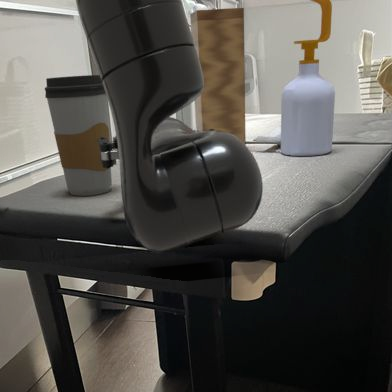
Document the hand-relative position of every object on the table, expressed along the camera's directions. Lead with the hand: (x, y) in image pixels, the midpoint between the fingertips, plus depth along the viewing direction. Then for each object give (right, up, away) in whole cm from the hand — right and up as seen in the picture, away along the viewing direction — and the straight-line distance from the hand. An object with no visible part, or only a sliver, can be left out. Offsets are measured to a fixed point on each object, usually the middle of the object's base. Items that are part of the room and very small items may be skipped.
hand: (155, 139), depth 70 cm
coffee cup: (-10, -4, +10) cm, 15 cm away
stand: (+10, +11, +36) cm, 39 cm away
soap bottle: (+25, +9, +29) cm, 40 cm away
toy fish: (+23, +14, +39) cm, 47 cm away
